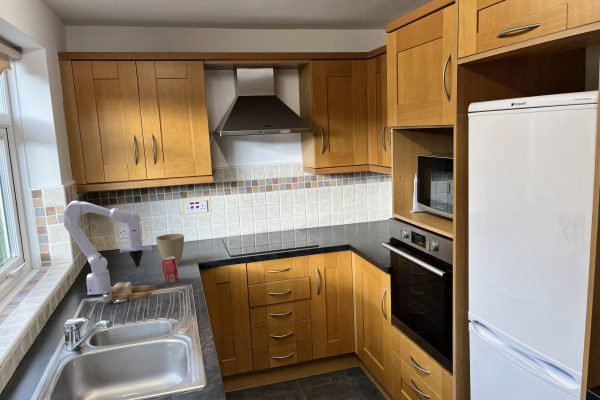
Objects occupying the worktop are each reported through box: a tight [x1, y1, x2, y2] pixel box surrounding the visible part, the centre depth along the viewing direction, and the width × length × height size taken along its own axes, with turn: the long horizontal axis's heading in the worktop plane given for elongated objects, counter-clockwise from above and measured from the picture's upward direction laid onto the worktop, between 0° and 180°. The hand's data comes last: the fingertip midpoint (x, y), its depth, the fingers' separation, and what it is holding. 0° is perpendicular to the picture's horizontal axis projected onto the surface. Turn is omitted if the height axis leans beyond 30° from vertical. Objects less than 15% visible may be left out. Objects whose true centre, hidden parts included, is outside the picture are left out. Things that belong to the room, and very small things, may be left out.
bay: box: [109, 284, 157, 301], centre depth 206 cm, size 18×10×3 cm, turn 95°
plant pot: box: [155, 233, 185, 266], centre depth 249 cm, size 15×15×16 cm
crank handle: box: [113, 295, 131, 305], centre depth 197 cm, size 7×1×2 cm, turn 115°
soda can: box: [161, 256, 179, 284], centre depth 221 cm, size 7×7×12 cm
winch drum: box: [102, 291, 114, 305], centre depth 197 cm, size 4×4×5 cm
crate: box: [112, 281, 133, 294], centre depth 205 cm, size 6×6×5 cm
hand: (137, 266), depth 215 cm, fingers closed
